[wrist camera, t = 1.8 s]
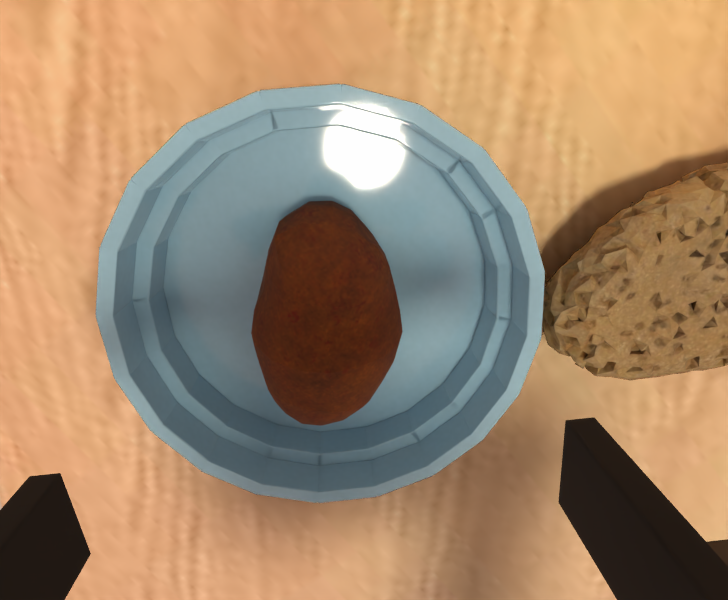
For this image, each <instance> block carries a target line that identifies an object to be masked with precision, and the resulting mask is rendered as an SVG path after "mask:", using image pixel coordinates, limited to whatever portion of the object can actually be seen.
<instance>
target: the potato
mask: <svg viewBox="0 0 728 600" xmlns="http://www.w3.org/2000/svg"><path fill="white" fill-rule="evenodd" d="M402 332H403V331H402V322H401V314H400V308H399V303H398V298H397V294H396V289H395V285H394V281H393V277H392V274H391V270H390V266H389V263H388V261H387V258H386V255H385V253H384V251H383V250H382V248H381V247H380V245H379V244H378V242H377V240H376V239H375V237H374V236H373V234H372V233H371V232H370V230H369V229H368V228H367V227H366V226H365V224H364V223H363V222H362V221H361V220H360V219H359V218H358V217H357V216H356V214H355V213H354V212H353V211H352V210H351V209H349V208H347V207H345V206H343V205H340V204H338V203H336V202H334V201H309V202H307V203H306V204H304V205H302V206H301V207H299V208H297V209H296V210H294V211H293V212H291V213H289V214H288V215H286V216H285V217H284V218H283V219H282V220H280V221H279V223H278V226H277V228H276V231H275V234H274V236H273V239H272V242H271V244H270V247H269V250H268V255H267V259H266V264H265V269H264V274H263V278H262V283H261V287H260V291H259V295H258V299H257V302H256V305H255V309H254V314H253V322H252V331H251V334H252V339H253V343H254V347H255V351H256V354H257V357H258V361H259V364H260V367H261V370H262V373H263V376H264V379H265V382H266V385H267V388H268V390H269V392H270V394H271V396H272V397H273V399H274V401H275V402H276V403H277V404H278V406H279V407H280V408H281V409H282V410H283V411H284V412H285V413H286V414H287V415H289V416H290V417H292V418H293V419H295V420H297V421H298V422H300V423H301V424H308V425H318V426H322V425H326V424H330V423H334V422H338V421H342V420H344V419H346V418H347V417H349V416H350V415H352V414H353V413H355V412H356V411H358V410H359V409H361V408H362V407H364V406H365V405H366V404H367V403H368V402H369V401H370V399H371V398H372V396H373V395H374V393H375V392H376V390H377V389H378V387H379V386H380V384H381V383H382V381H383V380H384V378H385V376H386V374H387V373H388V371H389V369H390V367H391V366H392V364H393V362H394V359H395V356H396V352H397V349H398V346H399V342H400V339H401V335H402Z"/></svg>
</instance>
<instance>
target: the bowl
mask: <svg viewBox="0 0 728 600" xmlns="http://www.w3.org/2000/svg"><path fill="white" fill-rule="evenodd" d="M309 201H334V202H336V203H338V204H340V205H343V206H345V207H347V208H349V209H351V210H352V211H353V212H354V213H355V214H356V216H357V217H358V218H359V219H360V220H361V221H362V222H363V223H364V224H365V226H366V227H367V228H368V229H369V230H370V232H371V233H372V234H373V236H374V237H375V239H376V240H377V242H378V244H379V245H380V247H381V248H382V250H383V251H384V253H385V255H386V258H387V261H388V263H389V266H390V270H391V274H392V277H393V281H394V285H395V289H396V294H397V298H398V303H399V308H400V314H401V322H402V331H403V332H402V335H401V339H400V342H399V346H398V349H397V352H396V356H395V359H394V362H393V364H392V366H391V367H390V369H389V371H388V373H387V374H386V376H385V378H384V380H383V381H382V383H381V384H380V386H379V387H378V389H377V390H376V392H375V393H374V395H373V396H372V398H371V399H370V401H369V402H368V403H367V404H366V405H365V406H364V407H362V408H361V409H359V410H358V411H356V412H355V413H353V414H352V415H350V416H349V417H347V418H346V419H344V420H342V421H338V422H334V423H330V424H326V425H322V426H318V425H308V424H301V423H300V422H298V421H297V420H295V419H293V418H292V417H290V416H289V415H287V414H286V413H285V412H284V411H283V410H282V409H281V408H280V407H279V406H278V404H277V403H276V402H275V401H274V399H273V397H272V396H271V394H270V392H269V390H268V388H267V385H266V382H265V379H264V376H263V373H262V370H261V367H260V364H259V361H258V357H257V354H256V351H255V347H254V343H253V339H252V334H251V331H252V322H253V314H254V309H255V305H256V302H257V299H258V295H259V291H260V287H261V283H262V278H263V274H264V269H265V264H266V259H267V255H268V250H269V247H270V244H271V242H272V239H273V236H274V234H275V231H276V228H277V226H278V223H279V221H280V220H282V219H283V218H284V217H285V216H286V215H288V214H289V213H291V212H293V211H294V210H296V209H297V208H299V207H301V206H302V205H304V204H306V203H307V202H309ZM544 283H545V270H544V266H543V263H542V259H541V256H540V252H539V249H538V245H537V242H536V238H535V235H534V231H533V228H532V224H531V221H530V217H529V214H528V210H527V208H526V206H525V205H524V203H523V202H522V200H521V199H520V198H519V196H518V195H517V193H516V192H515V191H514V189H513V188H512V186H511V185H510V184H509V182H508V181H507V180H506V178H505V177H504V175H503V174H502V173H501V171H500V170H499V168H498V167H497V166H496V164H495V163H494V161H493V160H492V159H491V157H490V156H489V154H488V153H487V152H486V150H485V149H484V148H483V147H481V146H480V145H478V144H477V143H475V142H474V141H473V140H471V139H470V138H468V137H467V136H465V135H464V134H462V133H461V132H460V131H458V130H457V129H455V128H454V127H452V126H451V125H449V124H448V123H446V122H445V121H444V120H442V119H441V118H439V117H438V116H436V115H435V114H433V113H432V112H431V111H429V110H428V109H426V108H425V107H423V106H422V105H419V104H417V103H413V102H409V101H405V100H402V99H398V98H394V97H391V96H387V95H383V94H379V93H376V92H372V91H368V90H364V89H361V88H357V87H353V86H350V85H346V84H328V85H315V86H303V87H290V88H278V89H266V90H260V91H256V92H253V93H251V94H249V95H247V96H245V97H242V98H240V99H238V100H236V101H234V102H232V103H229V104H227V105H225V106H223V107H221V108H218V109H216V110H214V111H212V112H210V113H207V114H205V115H203V116H201V117H199V118H197V119H194V120H192V121H190V122H188V123H186V125H183V126H182V127H181V128H180V129H179V130H178V131H177V132H176V133H175V134H174V135H173V136H172V137H171V138H170V139H169V140H168V141H167V142H166V143H165V144H164V145H163V146H162V147H161V148H160V149H159V150H158V151H157V152H156V153H155V154H154V155H153V156H152V157H151V158H150V159H149V160H148V161H147V162H146V163H145V164H144V165H143V166H142V167H141V168H140V169H139V170H138V171H137V172H136V173H135V174H134V175H133V176H132V177H131V180H129V182H128V184H127V186H126V189H125V191H124V193H123V195H122V198H121V200H120V202H119V204H118V207H117V209H116V211H115V213H114V216H113V218H112V220H111V222H110V225H109V227H108V229H107V231H106V234H105V236H104V238H103V240H102V243H101V246H100V248H99V265H98V283H97V301H96V319H97V322H98V325H99V329H100V332H101V336H102V339H103V342H104V346H105V349H106V352H107V356H108V359H109V362H110V366H111V369H112V373H113V376H114V379H115V380H116V382H117V383H118V385H119V386H120V388H121V389H122V390H123V392H124V393H125V395H126V396H127V398H128V399H129V401H130V402H131V403H132V405H133V406H134V408H135V409H136V411H137V412H138V413H139V415H140V416H141V418H142V419H143V421H144V422H145V423H146V425H147V426H148V428H149V429H150V431H152V432H153V433H154V434H155V435H156V436H157V437H159V438H160V439H161V440H163V441H164V442H165V443H166V444H168V445H169V446H170V447H171V448H173V449H174V450H175V451H176V452H178V453H179V454H180V455H182V456H183V457H184V458H185V459H187V460H188V461H189V462H190V463H192V464H193V465H194V466H195V467H197V468H198V469H199V470H201V471H202V472H204V473H206V474H209V475H211V476H214V477H216V478H218V479H221V480H223V481H226V482H228V483H230V484H233V485H235V486H237V487H240V488H242V489H245V490H247V491H249V492H252V493H254V494H256V495H257V494H258V495H264V496H271V497H278V498H285V499H292V500H299V501H306V502H313V503H317V502H318V503H325V502H335V501H344V500H353V499H362V498H372V497H377V496H381V495H383V494H386V493H389V492H391V491H394V490H397V489H399V488H402V487H405V486H407V485H410V484H413V483H415V482H418V481H421V480H423V479H426V478H429V477H431V476H432V475H435V474H436V473H438V472H439V471H441V470H442V469H443V468H445V467H446V466H448V465H449V464H450V463H452V462H453V461H455V460H456V459H457V458H459V457H460V456H462V455H463V454H464V453H466V452H467V451H469V450H470V449H471V448H473V447H474V446H475V445H477V444H478V443H480V442H481V441H482V440H483V439H484V438H485V437H486V435H487V434H488V433H489V432H490V430H491V429H492V428H493V427H494V425H495V424H496V423H497V422H498V420H499V419H500V418H501V416H502V415H503V414H504V413H505V411H506V410H507V409H508V408H509V406H510V405H511V404H512V403H513V401H514V400H515V399H516V398H517V396H518V395H519V393H520V391H521V388H522V386H523V383H524V381H525V378H526V376H527V373H528V371H529V368H530V366H531V363H532V360H533V358H534V355H535V353H536V350H537V348H538V345H539V343H540V340H541V336H542V319H543V301H544Z"/></svg>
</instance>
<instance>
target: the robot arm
mask: <svg viewBox="0 0 728 600" xmlns="http://www.w3.org/2000/svg"><path fill="white" fill-rule="evenodd" d="M559 504H560V505H561V507H562V509H563V510H564V512H565V514H566V515H567V517H568V519H569V520H570V522H571V524H572V525H573V527H574V529H575V530H576V532H577V534H578V535H579V537H580V539H581V540H582V542H583V544H584V545H585V547H586V549H587V550H588V552H589V554H590V555H591V557H592V559H593V560H594V562H595V564H596V565H597V567H598V569H599V570H600V572H601V574H602V575H603V577H604V579H605V580H606V582H607V584H608V585H609V587H610V589H611V590H612V592H613V594H614V595H615V597H616V599H617V600H728V540H719V541H710V542H706V541H705V540H704V539H703V538H702V537H701V536H700V535H699V533H698V532H697V531H696V530H695V529H694V528H693V527H692V526H691V525H690V523H689V522H688V521H687V520H686V519H685V518H684V517H683V516H682V515H681V513H680V512H679V511H678V510H677V509H676V508H675V507H674V506H673V505H672V503H671V502H670V501H669V500H668V499H667V498H666V497H665V496H664V495H663V493H662V492H661V491H660V490H659V489H658V488H657V487H656V486H655V485H654V483H653V482H652V481H651V480H650V479H649V478H648V477H647V476H646V475H645V473H644V472H643V471H642V470H641V469H640V468H639V467H638V466H637V465H636V463H635V462H634V461H633V460H632V459H631V458H630V457H629V456H628V455H627V453H626V452H625V451H624V450H623V449H622V448H621V447H620V446H619V445H618V443H617V442H616V441H615V440H614V439H613V438H612V437H611V436H610V435H609V433H608V432H607V431H606V430H605V429H604V428H603V427H602V426H601V425H600V423H599V422H598V421H597V420H596V419H595V418H585V419H575V420H566V423H565V434H564V446H563V458H562V469H561V481H560V493H559ZM90 554H91V553H90V551H89V548H88V545H87V543H86V540H85V537H84V535H83V532H82V529H81V527H80V524H79V521H78V519H77V516H76V514H75V511H74V508H73V506H72V503H71V500H70V498H69V495H68V492H67V490H66V487H65V485H64V482H63V479H62V477H61V474H60V473H58V474H48V475H39V476H30V477H29V478H28V479H27V480H26V481H25V482H24V484H23V485H22V486H21V487H20V488H19V489H18V490H17V492H16V493H15V494H14V495H13V496H12V497H11V498H10V500H9V501H8V502H7V503H6V504H5V505H4V507H3V508H2V509H1V510H0V600H65V598H66V596H67V595H68V593H69V591H70V589H71V588H72V586H73V584H74V582H75V580H76V579H77V577H78V575H79V573H80V572H81V570H82V568H83V566H84V565H85V563H86V561H87V559H88V558H89V556H90Z"/></svg>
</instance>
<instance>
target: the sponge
mask: <svg viewBox="0 0 728 600" xmlns="http://www.w3.org/2000/svg"><path fill="white" fill-rule="evenodd" d="M681 178H682V181H679V180H678V181H676V182H675V183H674V184H671V185H668V186H665V187H662V188H659V189H657V190H655V191H649V192H647V193H646V194H645V195H644V197H643V199H642V200H641V201H640V202H638V203H637V204H634V203H633V202H632V204H631V205H630V207H629V208H626V209H623V210H621V211H619V212H618V213H617V214H616V215H615V216H614V217H613V218H612V219H610V220H609V221H608V222H607V223H606V224H604V225H603V226H601V227H599V228H598V229H596V231H595V233H594V234H593V236H592V237H591V239H590V240H589V242H587V243H586V244H585V245H584V246H583V247H582V248H581V249H579V250H578V251H576V252H575V253H573V255H572V257H571V258H570V259H569V260H568V261H567V262H565V263H564V264H563V265H562V266H561V268H560V269H559V270H558V271H557V272H556V273H555V274H554V275H553V277H552V278H551V279H550V280H549V281H548V283H547V285H546V287H545V289H544V301H543V319H542V327H543V329H544V333H545V336H546V340H547V343H548V345H549V346H551V347H552V348H553V349H554V350H556V351H557V352H558V353H561V354H564V355H567V356H571V357H572V359H573V360H574V361H575V362H576V363H575V364H576V365H578V366H580V367H581V368H584V366H585V367H586V369H587V370H588V371H590V372H591V373H592V374H593V375H595V376H603V377H614V378H620V379H626V380H636V379H643V378H651V377H660V376H665V375H670V374H679V373H685V372H689V371H696V370H707V369H712V368H717V367H722V366H726V365H728V162H726V163H721V164H713V165H707V166H704V167H703V168H701V169H698V170H695V171H693V172H691V173H689V174H687V175H685V176H683V177H681Z"/></svg>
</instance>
